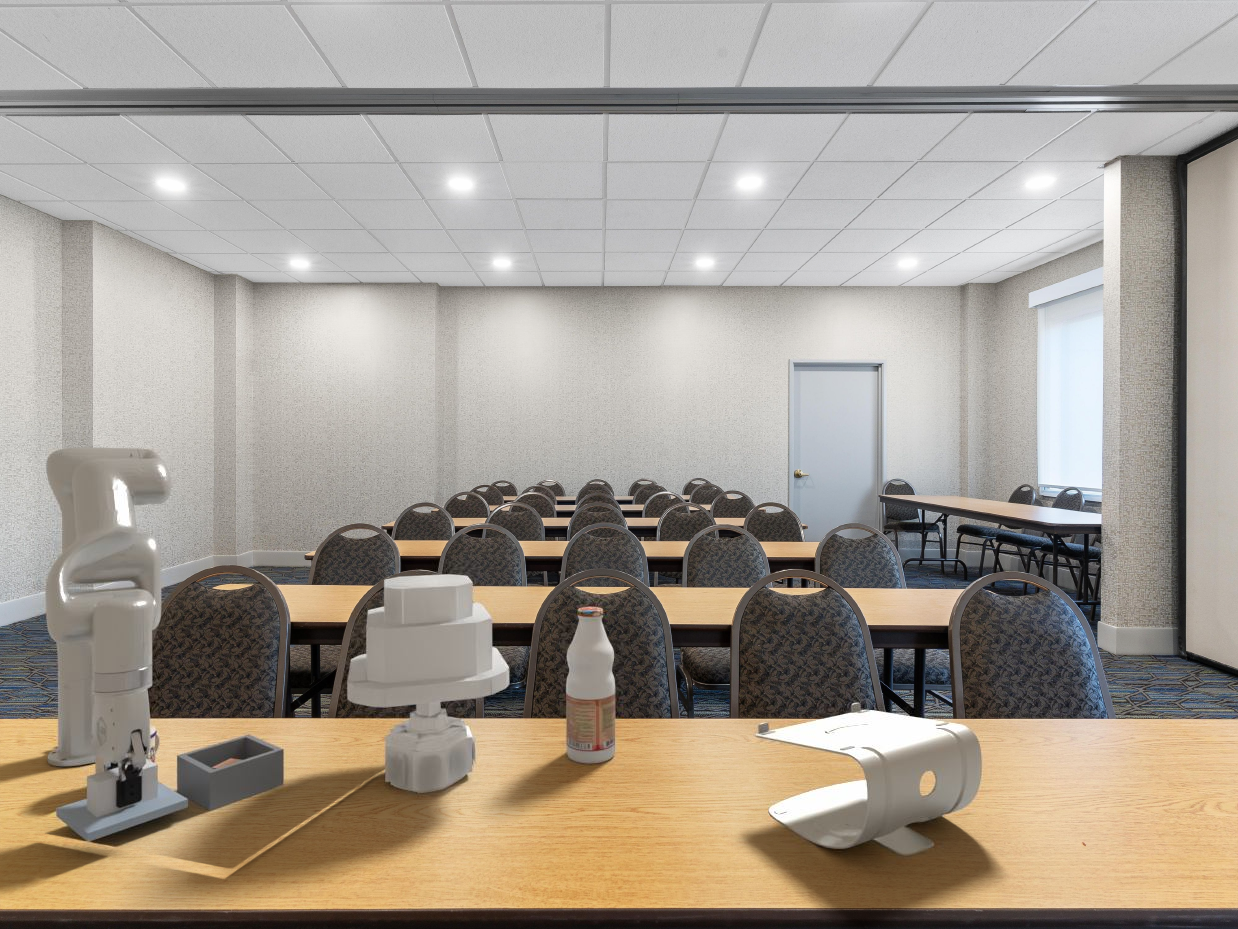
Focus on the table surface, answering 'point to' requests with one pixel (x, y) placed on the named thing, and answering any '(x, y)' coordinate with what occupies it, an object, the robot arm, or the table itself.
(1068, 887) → the table surface
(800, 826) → the portable electronic device stand
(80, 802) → the lid
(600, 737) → the fruit juice
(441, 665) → the white tiered tall piece
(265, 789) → the storage box
